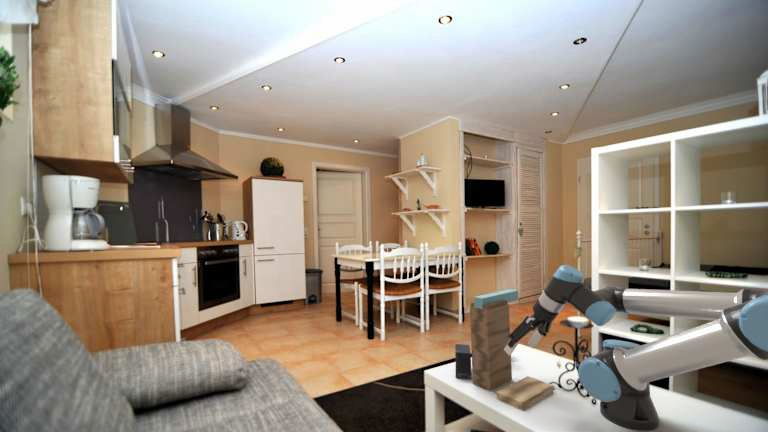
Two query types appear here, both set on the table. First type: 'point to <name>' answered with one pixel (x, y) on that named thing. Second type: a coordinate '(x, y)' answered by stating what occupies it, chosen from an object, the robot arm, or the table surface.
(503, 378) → the stand
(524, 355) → the table surface
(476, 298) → the rod
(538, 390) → the oak board
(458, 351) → the small box
